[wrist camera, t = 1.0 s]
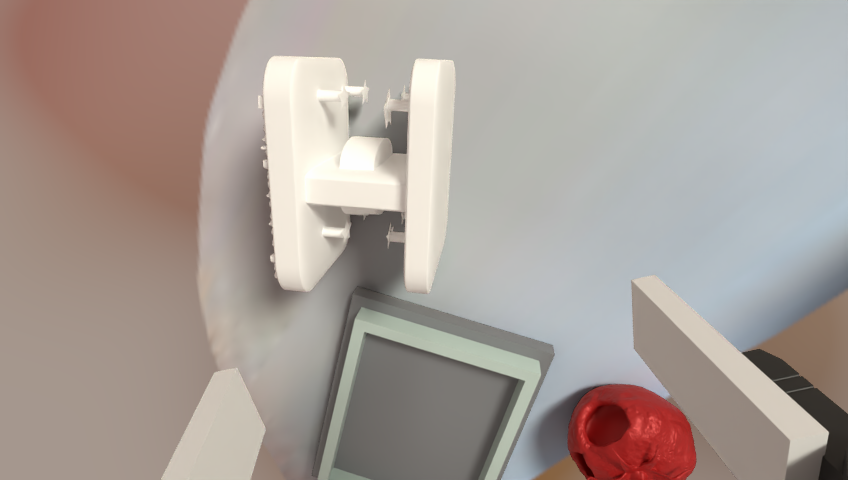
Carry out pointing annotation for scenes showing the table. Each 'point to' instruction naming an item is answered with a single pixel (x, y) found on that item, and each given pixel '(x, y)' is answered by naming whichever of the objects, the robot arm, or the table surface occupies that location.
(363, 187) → the cable organizer
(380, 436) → the grey green tray
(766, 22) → the table surface
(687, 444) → the red tomato
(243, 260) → the table surface
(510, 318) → the table surface
